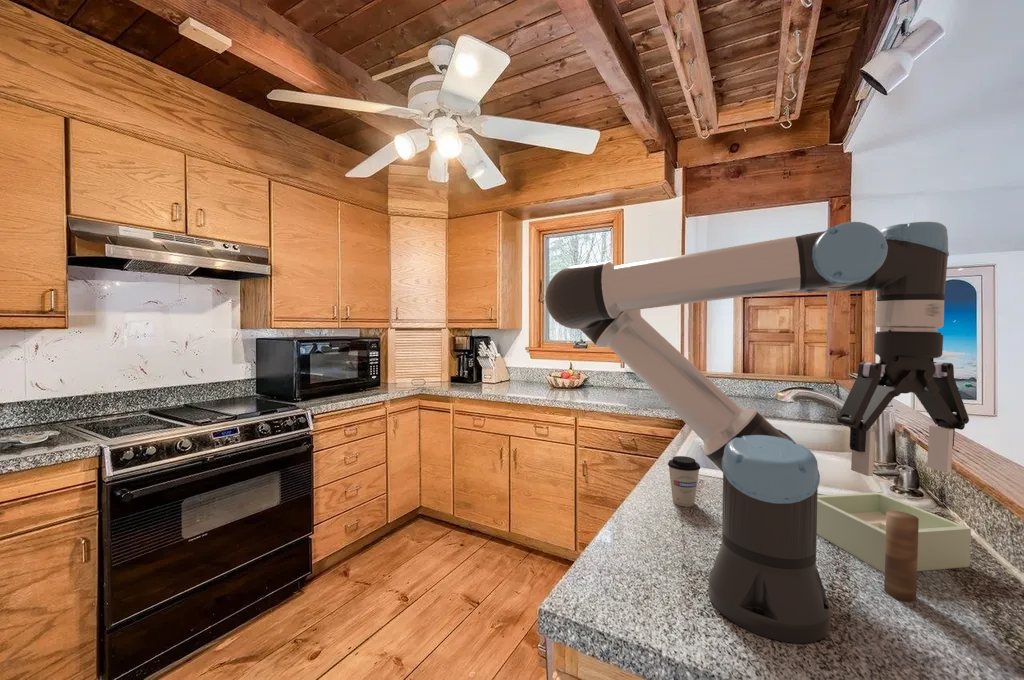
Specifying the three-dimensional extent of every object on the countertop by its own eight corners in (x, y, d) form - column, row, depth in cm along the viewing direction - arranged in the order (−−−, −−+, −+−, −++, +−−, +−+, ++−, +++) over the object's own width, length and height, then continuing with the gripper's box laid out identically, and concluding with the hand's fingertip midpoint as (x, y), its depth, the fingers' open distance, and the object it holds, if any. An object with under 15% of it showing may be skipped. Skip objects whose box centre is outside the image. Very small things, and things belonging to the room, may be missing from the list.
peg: (901, 602, 63) (904, 521, 63) (877, 587, 67) (879, 511, 66) (923, 600, 64) (925, 520, 63) (898, 586, 67) (900, 509, 67)
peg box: (884, 573, 70) (886, 534, 70) (806, 528, 86) (807, 496, 86) (969, 566, 72) (970, 528, 72) (877, 523, 88) (878, 492, 88)
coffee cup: (667, 494, 103) (667, 453, 103) (698, 498, 101) (699, 456, 101) (667, 506, 97) (667, 462, 96) (701, 510, 94) (701, 465, 94)
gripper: (858, 329, 59) (851, 484, 59) (1009, 331, 62) (1000, 476, 63) (812, 328, 66) (806, 466, 67) (949, 330, 70) (942, 460, 71)
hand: (900, 471), depth 65 cm, fingers open, 13 cm apart
